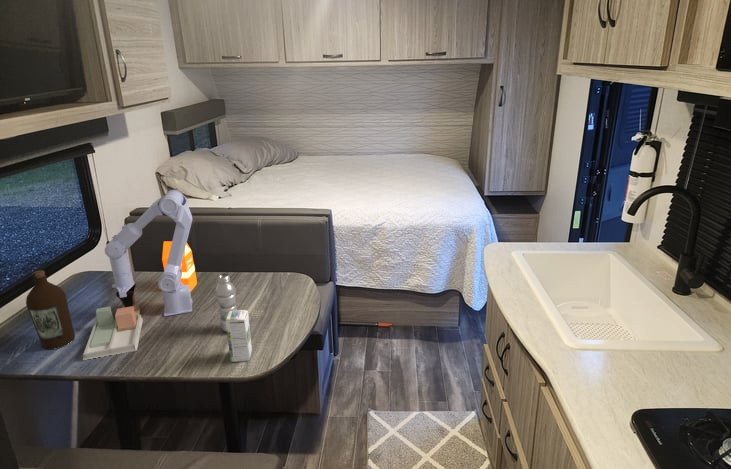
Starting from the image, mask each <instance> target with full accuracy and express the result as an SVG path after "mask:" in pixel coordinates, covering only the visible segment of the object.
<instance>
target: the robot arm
mask: <svg viewBox="0 0 731 469" xmlns="http://www.w3.org/2000/svg"><path fill="white" fill-rule="evenodd" d="M164 215H166V216H167V217H169V218H170V219H172V221H173V222H175V223H176V224H175V229H174V232H173V236H172V240H171V241H172V244H171V248H170V252H169V256H168V260H167V264H166V267H165V270H164V269H163V270H164V271H163V273H162V275H161V277H160V278H159V279H158V281H157V282H158V283H157V286H158V288H159V289H160V290H161V295H162V296H161V297H162V299H163V306H164V311H163V317H170V316H174V315H182V314H186V313H191V312H193V303H194V302H193V298H192V296H191V295H192V294H191V292H190V288H189V285H183V284H182V282H181V281H180V279H181V277H182V271H181V266H182V264H181V263H182V259H183V255H184V251H185V247H186V243H187V244H188V238H189V235H190V231H191V226H192V224H193V223H192V222H193V215H192V212H191V209H190V207H189V204H188V198H187V197H186V196H185V194H184V193H182V192H181V191H180V190H177V189H170V190H168V191H166V192H165V195H161V197H159V198H157V200H155V201H154V202H153V203H152V204H151V205H150V206H149V207H148V208H147V209H146V210H145V211H144V212H143V214H141V216H140V217H138V219H137V220H136V221H134V222H129V223H127V224H123V226H121V230H120V231H119V232H118V233H117V234H115V235H114V234H113V236H112V239H111V240H110V241H109V242H108V243H107V244H106V246H105V247H104V253H105V255H106V256H107V257H108V258H109V263H110V268H111V270H112V275H113V279H114V283H113V284H112V285H111V286H112V288H113V289H116V290H117V292H116V293H115V294H116V295H115V296H116V297H117V298H118V299H119V300H120V301H121V304H122V303H123V304H124V306H125V307H131V306H133V294H135V289H136V286H137V284H136V283H135V280H134V277H133V272H132V267H131V262H130V260H129V256H128V249H129V248H130V247H131V246H132V245H134V243H136V241H137V240H138V239H140V237H141V236H143V229H144V228H146V227H147V225H148V224H149V223H151V222H152V221H153V219H155V218H156V217H157V216H159V217H160V216H161V217H162V216H164Z"/></svg>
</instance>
